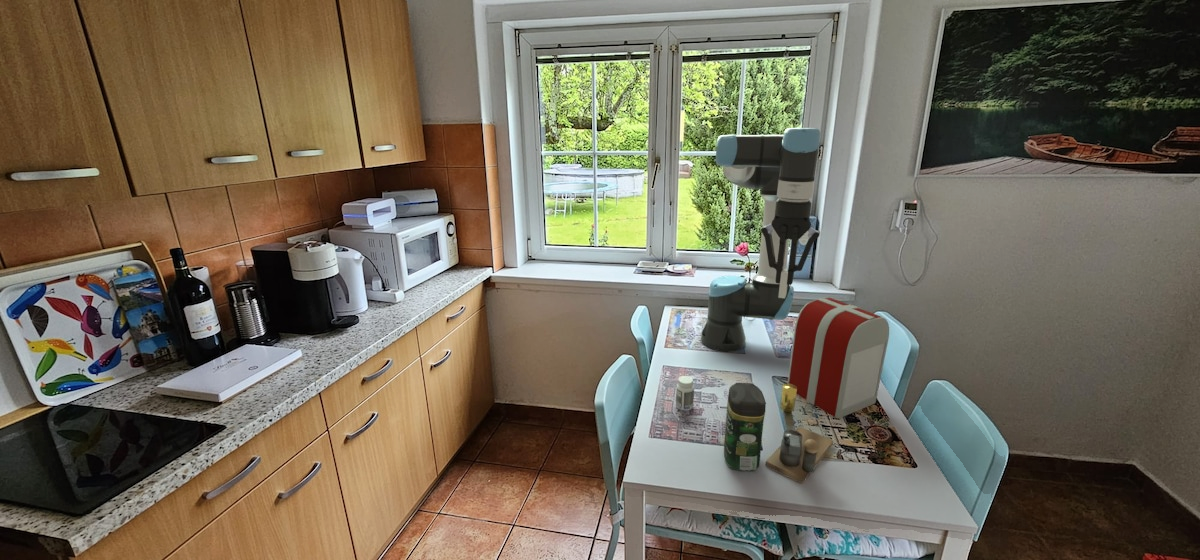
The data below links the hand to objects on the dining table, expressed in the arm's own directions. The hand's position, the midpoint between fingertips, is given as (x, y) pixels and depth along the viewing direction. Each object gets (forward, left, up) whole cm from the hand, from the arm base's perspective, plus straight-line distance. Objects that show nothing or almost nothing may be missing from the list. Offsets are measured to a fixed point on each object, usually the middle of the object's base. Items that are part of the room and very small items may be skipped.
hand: (782, 296), depth 118 cm
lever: (+10, -11, -28) cm, 32 cm away
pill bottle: (-19, -11, -35) cm, 41 cm away
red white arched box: (+8, +22, -35) cm, 42 cm away
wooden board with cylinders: (+13, -9, -34) cm, 38 cm away
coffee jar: (+3, -20, -35) cm, 40 cm away
